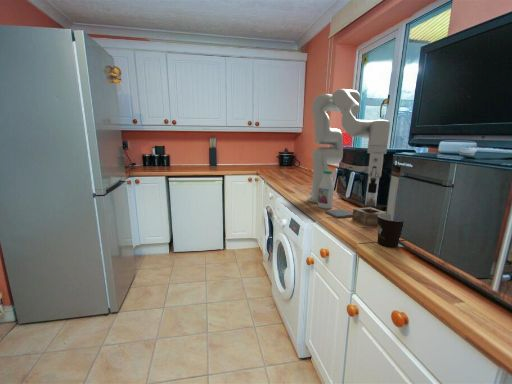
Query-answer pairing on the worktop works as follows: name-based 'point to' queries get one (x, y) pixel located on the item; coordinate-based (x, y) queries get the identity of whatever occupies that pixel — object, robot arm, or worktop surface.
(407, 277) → the worktop surface
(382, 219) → the coffee mug
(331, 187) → the milk bottle
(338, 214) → the rubber mat
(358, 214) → the open square box
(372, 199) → the steel pin
